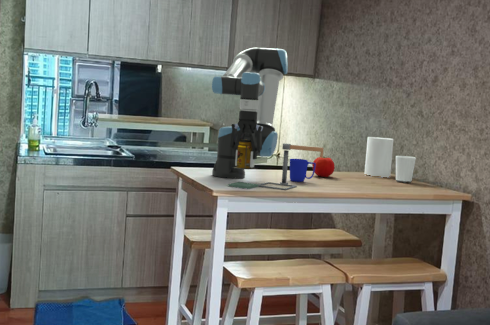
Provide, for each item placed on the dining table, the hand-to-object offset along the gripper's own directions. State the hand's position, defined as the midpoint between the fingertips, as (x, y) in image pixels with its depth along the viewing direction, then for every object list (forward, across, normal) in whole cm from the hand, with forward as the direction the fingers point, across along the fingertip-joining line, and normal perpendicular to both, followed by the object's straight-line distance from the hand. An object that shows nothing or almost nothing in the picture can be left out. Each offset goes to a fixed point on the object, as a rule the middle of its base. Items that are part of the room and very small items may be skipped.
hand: (244, 166), depth 277 cm
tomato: (+8, +13, +67) cm, 69 cm away
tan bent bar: (-5, +17, +22) cm, 29 cm away
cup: (+8, +50, +83) cm, 97 cm away
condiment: (+1, 0, 0) cm, 1 cm away
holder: (+8, +10, +12) cm, 18 cm away
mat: (+8, 0, 0) cm, 8 cm away
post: (+8, +10, +21) cm, 25 cm away
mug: (+9, +12, +38) cm, 41 cm away
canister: (+8, +33, +99) cm, 105 cm away
